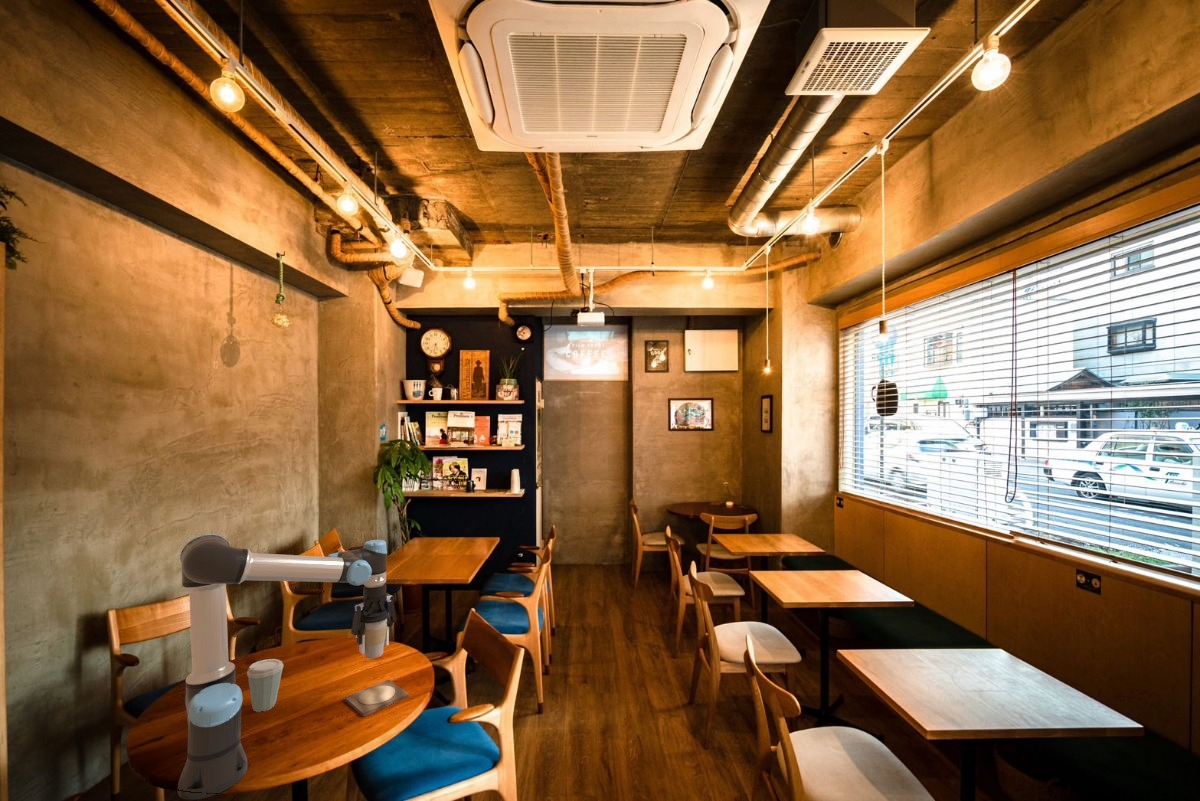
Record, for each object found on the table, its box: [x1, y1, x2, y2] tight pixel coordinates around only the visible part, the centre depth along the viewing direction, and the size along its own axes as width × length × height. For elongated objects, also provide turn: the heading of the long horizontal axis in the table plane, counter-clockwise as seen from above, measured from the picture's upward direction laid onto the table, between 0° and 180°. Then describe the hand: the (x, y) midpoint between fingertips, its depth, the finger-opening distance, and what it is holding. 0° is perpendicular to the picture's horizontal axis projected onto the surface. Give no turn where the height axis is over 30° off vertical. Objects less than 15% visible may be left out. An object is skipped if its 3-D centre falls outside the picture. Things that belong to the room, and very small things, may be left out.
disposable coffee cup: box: [246, 658, 284, 713], centre depth 172 cm, size 11×11×15 cm
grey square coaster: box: [344, 679, 410, 718], centre depth 177 cm, size 16×15×2 cm
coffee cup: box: [360, 608, 390, 660], centre depth 178 cm, size 9×9×15 cm
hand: (374, 648), depth 178 cm, fingers closed on coffee cup, 8 cm apart
